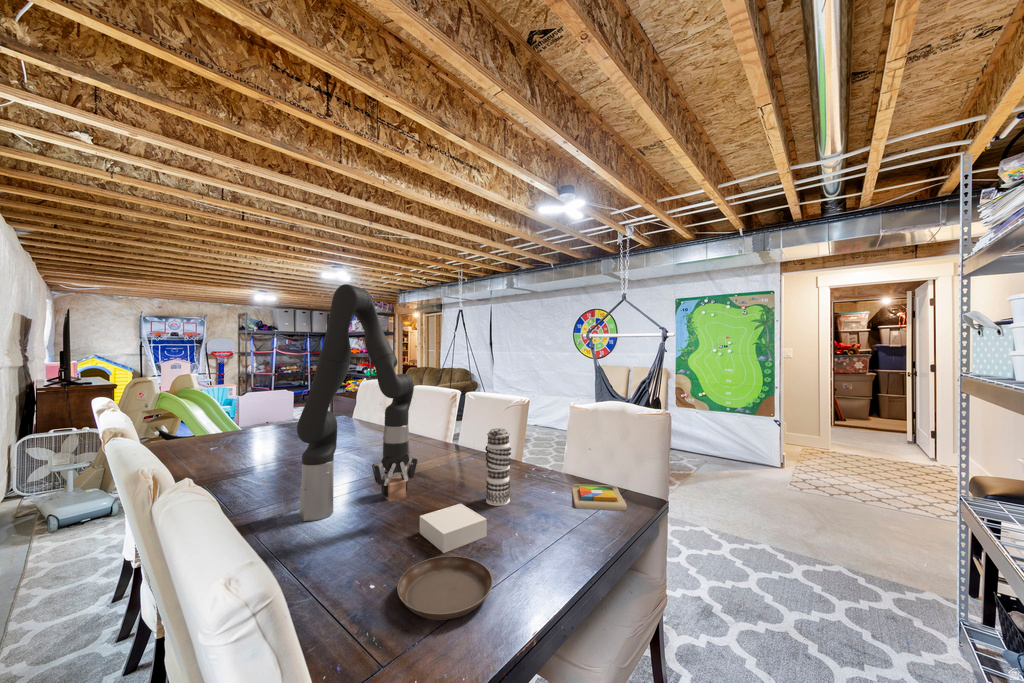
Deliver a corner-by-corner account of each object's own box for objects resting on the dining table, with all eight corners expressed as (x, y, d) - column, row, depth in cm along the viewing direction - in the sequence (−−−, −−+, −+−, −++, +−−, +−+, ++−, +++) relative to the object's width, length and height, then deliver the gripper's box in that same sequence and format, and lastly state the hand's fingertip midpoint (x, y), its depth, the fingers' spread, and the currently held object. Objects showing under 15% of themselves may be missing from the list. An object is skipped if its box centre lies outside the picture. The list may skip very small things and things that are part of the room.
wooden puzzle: (617, 491, 147) (617, 481, 147) (627, 512, 128) (627, 502, 128) (571, 489, 149) (571, 480, 149) (574, 510, 130) (574, 499, 130)
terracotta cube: (389, 501, 115) (390, 484, 115) (383, 496, 119) (383, 479, 119) (405, 497, 118) (406, 481, 118) (398, 492, 122) (399, 476, 122)
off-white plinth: (443, 553, 102) (443, 534, 102) (419, 533, 113) (419, 515, 113) (486, 536, 111) (486, 519, 111) (460, 519, 122) (460, 503, 122)
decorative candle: (488, 507, 131) (488, 433, 131) (482, 497, 140) (483, 427, 140) (513, 504, 133) (514, 432, 133) (507, 494, 142) (507, 426, 142)
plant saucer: (493, 567, 96) (493, 554, 96) (491, 629, 75) (491, 612, 75) (410, 568, 95) (410, 555, 95) (384, 630, 75) (384, 613, 75)
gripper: (377, 445, 111) (375, 504, 111) (423, 438, 120) (421, 493, 120) (368, 439, 117) (366, 496, 117) (412, 433, 126) (411, 486, 126)
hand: (394, 494), depth 118 cm, fingers closed on terracotta cube, 5 cm apart
